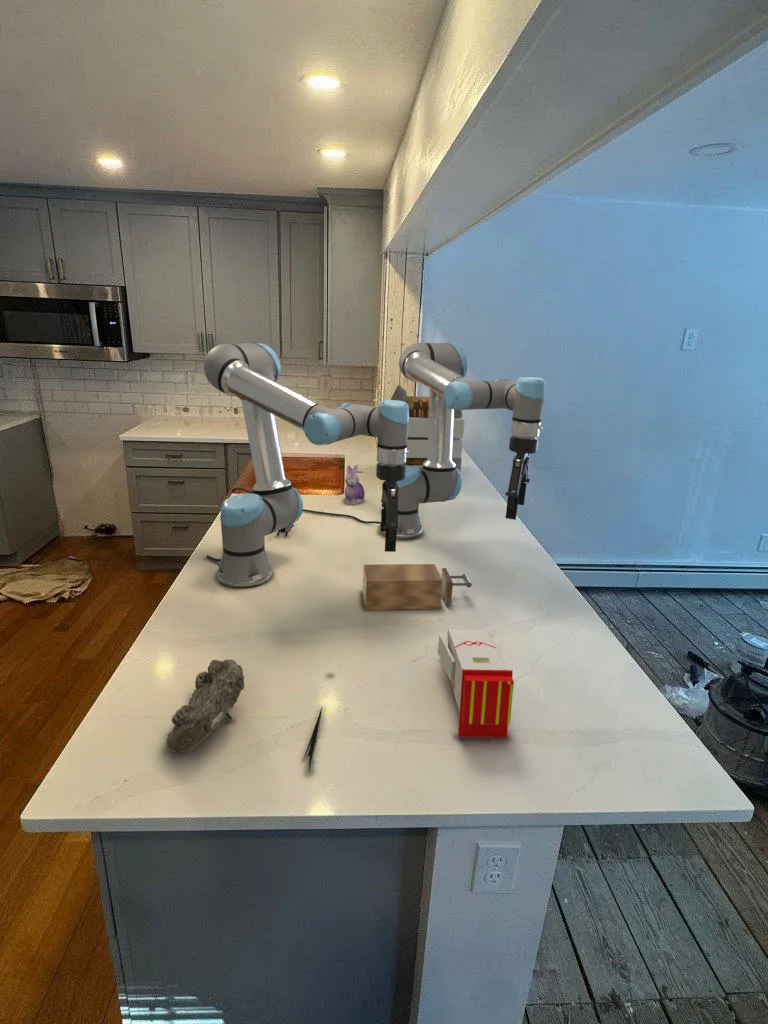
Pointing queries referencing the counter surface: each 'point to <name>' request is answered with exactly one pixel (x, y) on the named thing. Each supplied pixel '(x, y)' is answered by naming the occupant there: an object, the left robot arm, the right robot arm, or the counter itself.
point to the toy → (478, 682)
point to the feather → (313, 740)
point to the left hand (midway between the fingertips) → (387, 540)
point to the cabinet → (401, 586)
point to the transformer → (426, 429)
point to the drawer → (451, 584)
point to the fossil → (206, 705)
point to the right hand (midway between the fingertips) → (514, 511)
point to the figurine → (353, 487)
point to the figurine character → (285, 530)
